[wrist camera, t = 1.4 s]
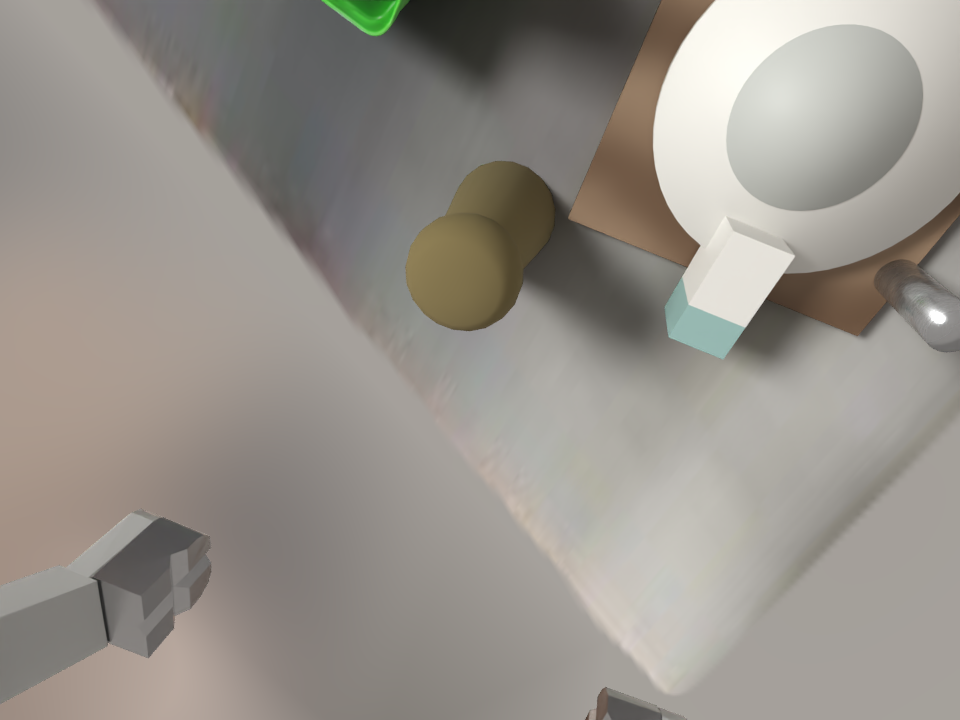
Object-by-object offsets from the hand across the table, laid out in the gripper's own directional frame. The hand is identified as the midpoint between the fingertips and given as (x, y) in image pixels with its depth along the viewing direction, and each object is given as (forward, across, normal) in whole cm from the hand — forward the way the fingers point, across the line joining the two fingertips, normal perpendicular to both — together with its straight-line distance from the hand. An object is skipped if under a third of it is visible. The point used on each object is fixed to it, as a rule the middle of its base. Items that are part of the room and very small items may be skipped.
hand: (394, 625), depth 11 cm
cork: (+26, +4, -2) cm, 26 cm away
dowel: (+26, -17, -4) cm, 31 cm away
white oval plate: (+24, -9, -8) cm, 27 cm away
